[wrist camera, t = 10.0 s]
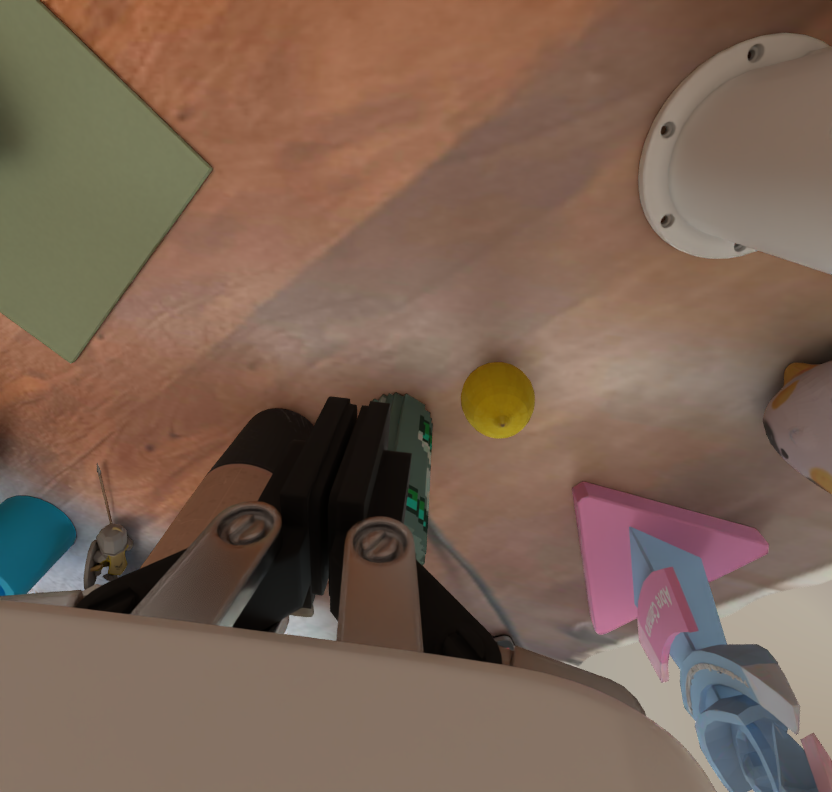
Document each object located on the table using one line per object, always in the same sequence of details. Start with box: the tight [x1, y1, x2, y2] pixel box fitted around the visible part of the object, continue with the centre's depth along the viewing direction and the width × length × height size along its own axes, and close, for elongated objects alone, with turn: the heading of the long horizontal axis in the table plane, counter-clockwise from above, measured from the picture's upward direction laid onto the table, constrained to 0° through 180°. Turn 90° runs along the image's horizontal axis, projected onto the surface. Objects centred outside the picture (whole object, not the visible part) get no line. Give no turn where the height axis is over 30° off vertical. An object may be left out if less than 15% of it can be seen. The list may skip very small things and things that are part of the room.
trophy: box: [572, 481, 832, 792], centre depth 33 cm, size 20×17×30 cm
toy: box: [84, 464, 133, 590], centre depth 47 cm, size 5×4×15 cm
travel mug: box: [140, 409, 314, 568], centre depth 34 cm, size 8×8×20 cm
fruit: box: [461, 362, 535, 438], centre depth 35 cm, size 6×6×8 cm
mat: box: [0, 0, 213, 363], centre depth 33 cm, size 22×18×1 cm
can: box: [373, 392, 433, 566], centre depth 35 cm, size 6×6×15 cm
